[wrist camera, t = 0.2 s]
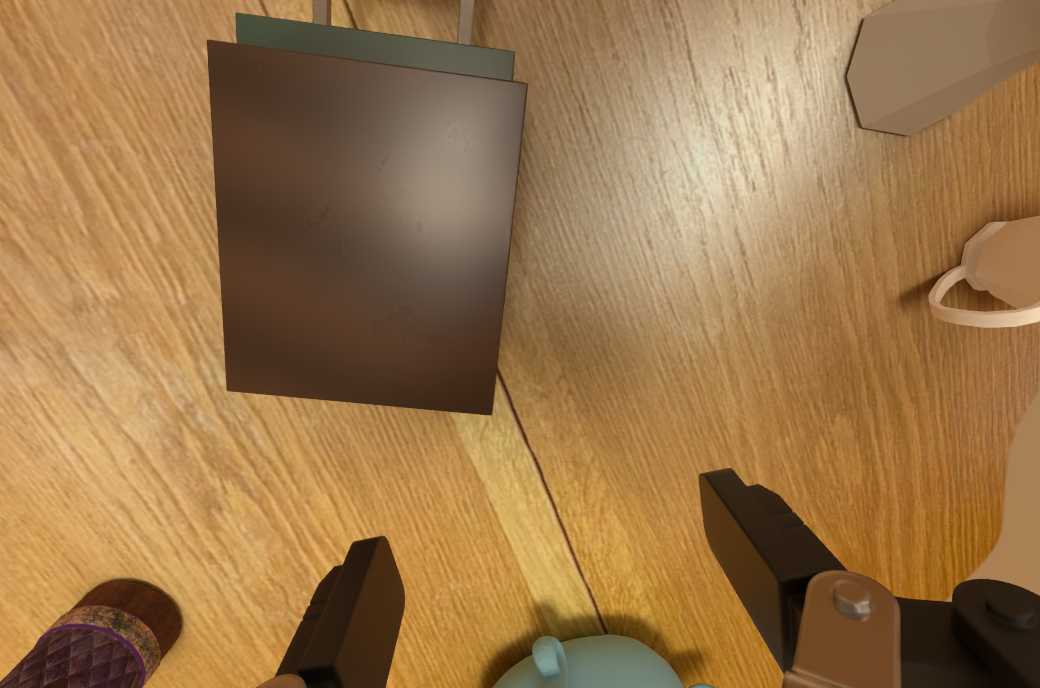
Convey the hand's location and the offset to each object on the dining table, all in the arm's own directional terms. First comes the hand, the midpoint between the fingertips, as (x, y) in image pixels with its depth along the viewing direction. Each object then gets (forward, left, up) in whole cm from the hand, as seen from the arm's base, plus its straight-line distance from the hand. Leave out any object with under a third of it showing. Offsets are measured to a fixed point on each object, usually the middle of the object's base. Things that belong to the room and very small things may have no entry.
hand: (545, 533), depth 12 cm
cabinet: (-7, -5, -19) cm, 21 cm away
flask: (-10, +24, -19) cm, 32 cm away
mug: (+16, -33, -19) cm, 41 cm away
